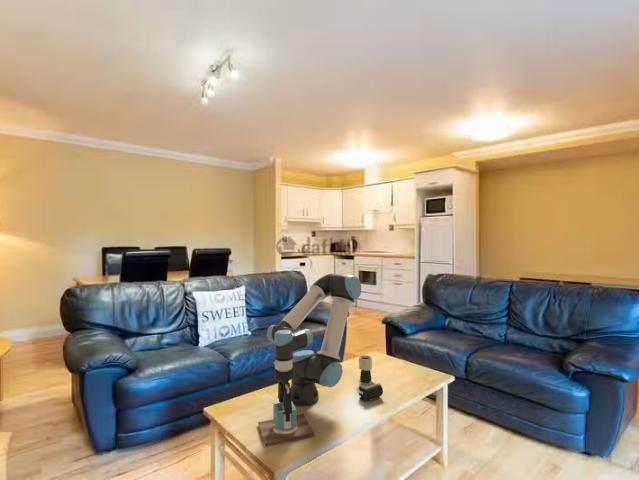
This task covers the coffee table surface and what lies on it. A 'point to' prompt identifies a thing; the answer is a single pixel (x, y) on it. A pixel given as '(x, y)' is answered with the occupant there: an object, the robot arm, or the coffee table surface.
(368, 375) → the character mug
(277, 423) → the teal ring
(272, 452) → the coffee table surface
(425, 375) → the coffee table surface
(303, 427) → the post stand
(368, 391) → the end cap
